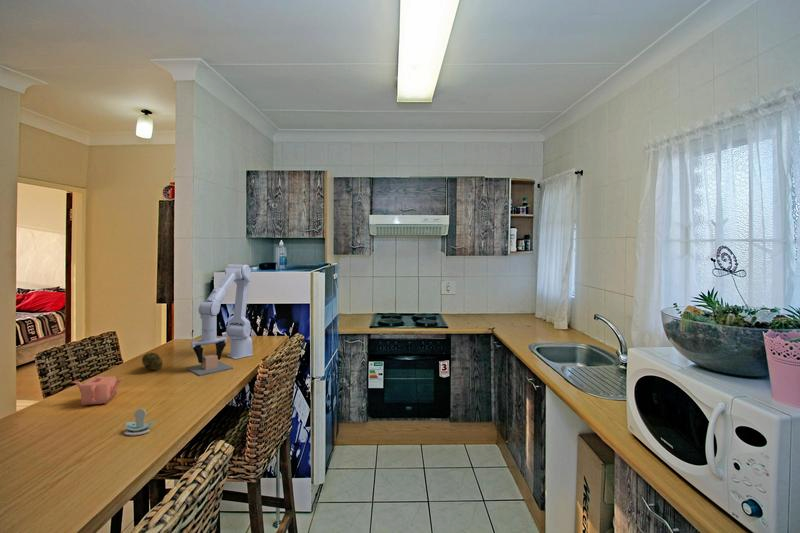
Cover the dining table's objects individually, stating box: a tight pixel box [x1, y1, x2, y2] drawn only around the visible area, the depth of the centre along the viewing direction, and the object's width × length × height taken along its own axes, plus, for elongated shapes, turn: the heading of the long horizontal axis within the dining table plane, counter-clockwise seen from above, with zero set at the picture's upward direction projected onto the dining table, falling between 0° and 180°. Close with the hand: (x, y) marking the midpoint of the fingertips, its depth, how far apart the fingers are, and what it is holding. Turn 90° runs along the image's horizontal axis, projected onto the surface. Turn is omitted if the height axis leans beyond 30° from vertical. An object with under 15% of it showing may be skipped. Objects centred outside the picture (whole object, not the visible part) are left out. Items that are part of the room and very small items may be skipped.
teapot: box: [72, 375, 126, 406], centre depth 138 cm, size 12×15×8 cm
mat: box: [185, 360, 234, 377], centre depth 175 cm, size 14×14×1 cm
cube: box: [200, 353, 219, 370], centre depth 175 cm, size 5×5×5 cm
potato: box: [141, 352, 163, 370], centre depth 172 cm, size 8×13×8 cm, turn 6°
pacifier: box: [123, 408, 155, 436], centre depth 116 cm, size 7×6×6 cm
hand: (209, 360), depth 175 cm, fingers open, 7 cm apart
